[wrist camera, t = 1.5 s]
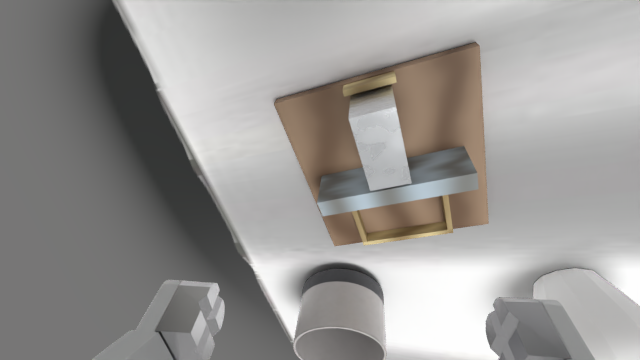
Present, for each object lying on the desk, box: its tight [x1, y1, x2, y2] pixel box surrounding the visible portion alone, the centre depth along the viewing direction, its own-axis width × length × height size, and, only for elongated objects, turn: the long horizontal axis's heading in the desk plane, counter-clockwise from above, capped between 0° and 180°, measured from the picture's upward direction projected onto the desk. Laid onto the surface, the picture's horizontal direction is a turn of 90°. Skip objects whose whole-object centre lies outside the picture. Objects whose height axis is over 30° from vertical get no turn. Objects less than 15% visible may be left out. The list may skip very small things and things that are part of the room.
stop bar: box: [349, 84, 412, 191], centre depth 32 cm, size 4×8×6 cm, turn 18°
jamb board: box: [274, 42, 489, 246], centre depth 36 cm, size 20×22×6 cm
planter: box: [293, 269, 387, 360], centre depth 49 cm, size 13×13×10 cm
